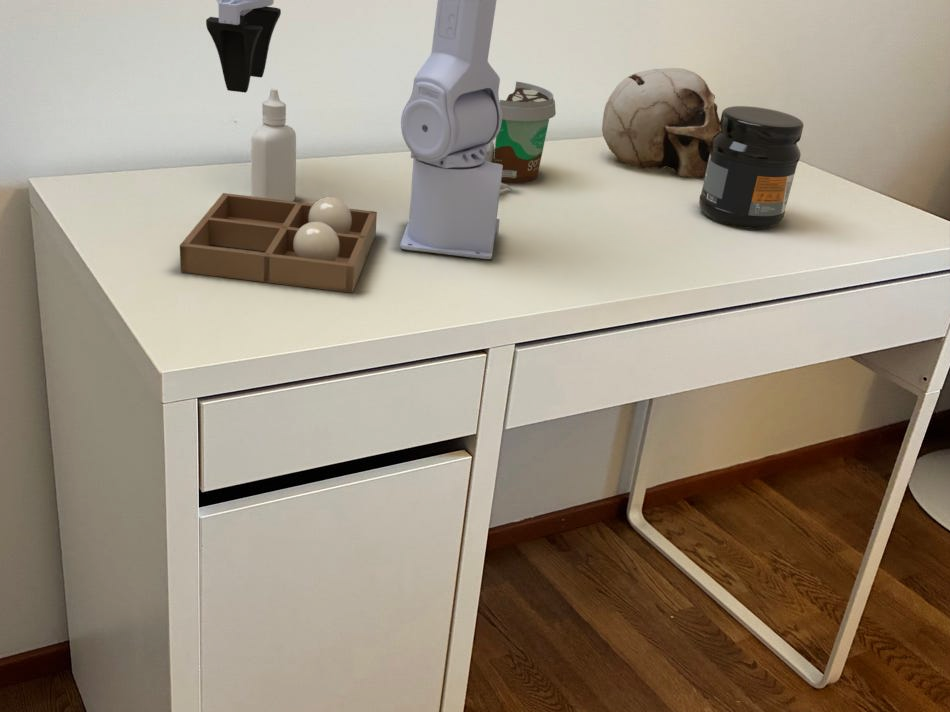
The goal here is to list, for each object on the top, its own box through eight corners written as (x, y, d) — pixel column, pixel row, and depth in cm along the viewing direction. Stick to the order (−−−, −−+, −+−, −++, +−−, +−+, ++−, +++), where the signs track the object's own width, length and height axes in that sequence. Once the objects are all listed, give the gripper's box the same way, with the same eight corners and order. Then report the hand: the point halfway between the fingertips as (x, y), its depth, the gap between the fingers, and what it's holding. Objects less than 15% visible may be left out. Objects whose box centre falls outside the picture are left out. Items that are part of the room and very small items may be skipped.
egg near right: (342, 262, 108) (344, 218, 106) (335, 278, 105) (336, 233, 102) (297, 256, 108) (298, 212, 106) (288, 272, 105) (289, 227, 102)
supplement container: (799, 230, 134) (827, 128, 128) (727, 233, 130) (751, 128, 124) (750, 201, 142) (774, 104, 135) (680, 203, 138) (701, 103, 131)
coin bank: (749, 170, 154) (764, 69, 146) (672, 201, 144) (683, 95, 136) (659, 144, 163) (669, 48, 155) (581, 171, 153) (587, 70, 145)
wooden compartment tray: (375, 235, 117) (377, 211, 115) (352, 293, 103) (353, 266, 102) (223, 217, 117) (223, 192, 115) (180, 272, 103) (179, 245, 102)
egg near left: (354, 236, 115) (356, 194, 112) (347, 250, 111) (349, 207, 109) (311, 231, 115) (312, 188, 112) (303, 245, 111) (304, 202, 109)
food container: (538, 193, 135) (550, 108, 130) (489, 184, 136) (498, 100, 131) (553, 167, 146) (564, 87, 140) (507, 159, 146) (516, 80, 141)
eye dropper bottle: (241, 198, 122) (240, 85, 115) (288, 194, 125) (289, 83, 118) (258, 211, 119) (257, 95, 113) (305, 207, 122) (308, 93, 115)
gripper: (223, -65, 122) (225, 65, 129) (186, -50, 109) (191, 93, 117) (287, -57, 122) (285, 72, 129) (257, -41, 110) (258, 101, 117)
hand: (245, 83), depth 123 cm, fingers open, 7 cm apart
